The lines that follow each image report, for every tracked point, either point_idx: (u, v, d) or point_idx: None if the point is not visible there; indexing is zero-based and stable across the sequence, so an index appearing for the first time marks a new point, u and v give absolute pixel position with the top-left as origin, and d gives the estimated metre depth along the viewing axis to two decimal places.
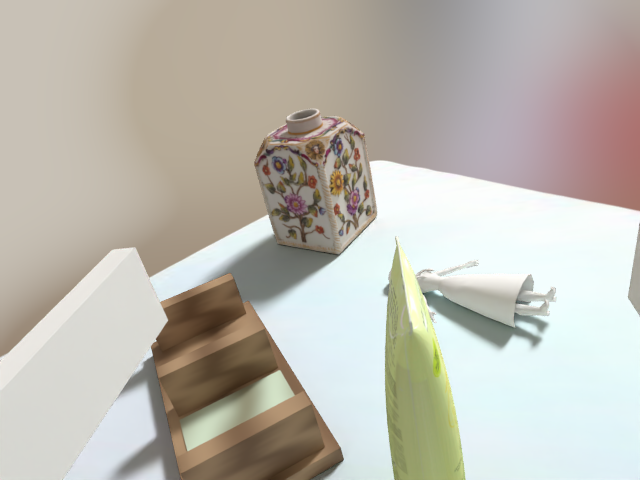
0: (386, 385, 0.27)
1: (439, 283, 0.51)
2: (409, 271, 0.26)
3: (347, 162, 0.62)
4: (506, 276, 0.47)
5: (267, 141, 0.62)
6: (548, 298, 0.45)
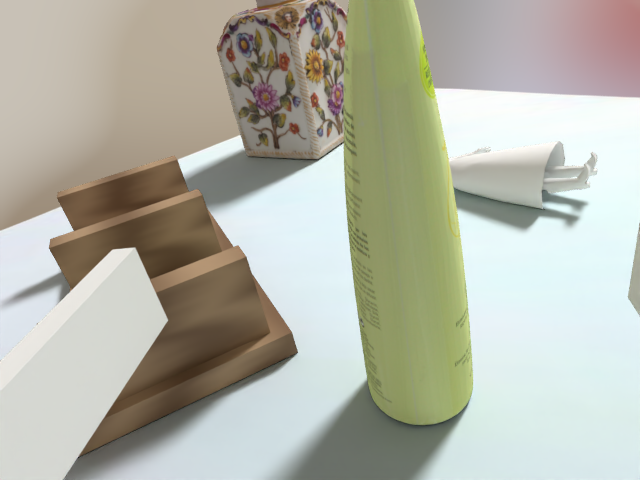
0: (344, 163, 0.16)
1: None
2: None
3: (328, 45, 0.51)
4: (530, 146, 0.36)
5: (231, 17, 0.51)
6: None
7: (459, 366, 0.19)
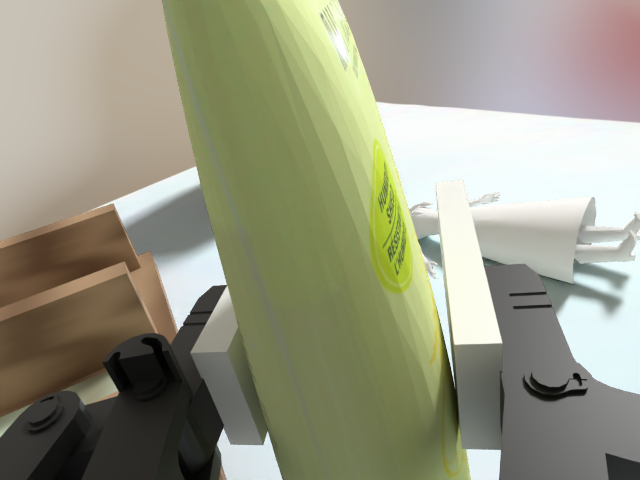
0: None
1: None
2: None
3: None
4: (554, 201, 0.28)
5: None
6: (628, 234, 0.27)
7: None
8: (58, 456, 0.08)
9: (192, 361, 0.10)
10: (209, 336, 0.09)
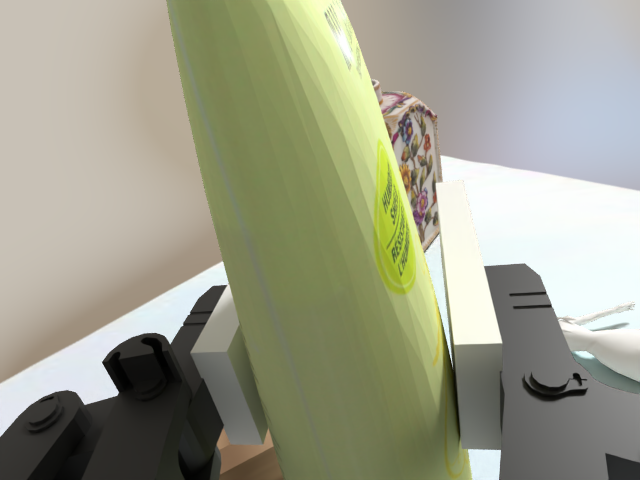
0: None
1: (591, 341, 0.33)
2: None
3: (416, 153, 0.45)
4: None
5: None
6: None
7: None
8: (58, 456, 0.08)
9: (192, 361, 0.10)
10: (209, 336, 0.09)
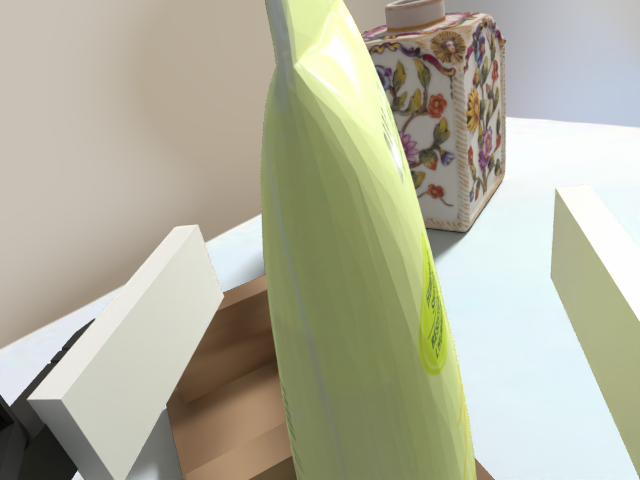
0: None
1: None
2: (358, 41, 0.08)
3: (485, 80, 0.38)
4: None
5: None
6: None
7: None
8: None
9: None
10: (52, 381, 0.09)
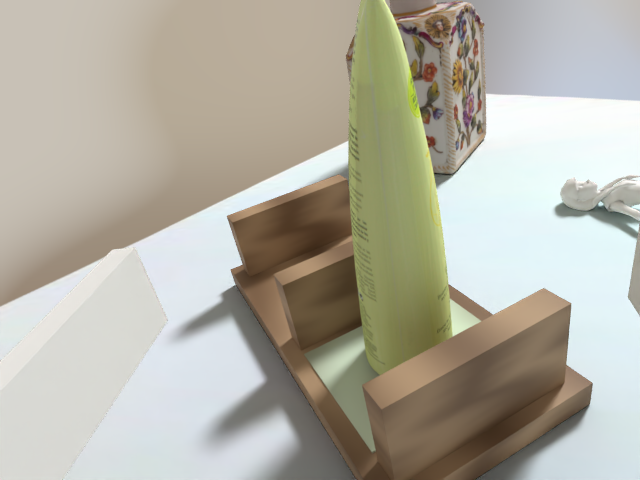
0: None
1: None
2: None
3: (467, 54, 0.49)
4: None
5: None
6: None
7: (441, 333, 0.24)
8: None
9: None
10: None
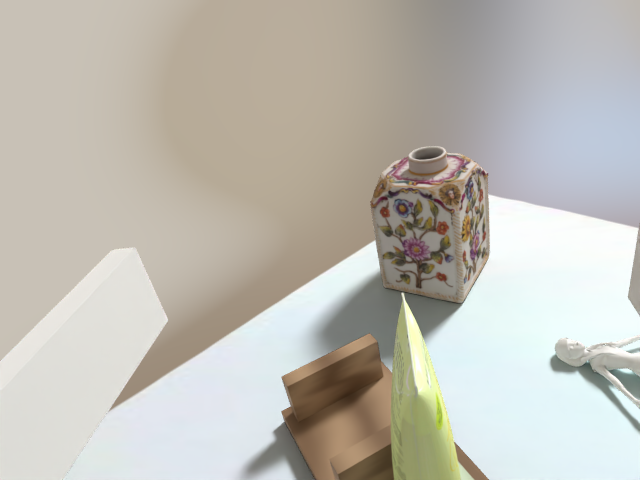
0: (392, 431, 0.29)
1: (631, 361, 0.45)
2: (414, 327, 0.28)
3: (474, 205, 0.58)
4: None
5: (388, 181, 0.57)
6: None
7: None
8: None
9: None
10: None
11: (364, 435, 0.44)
